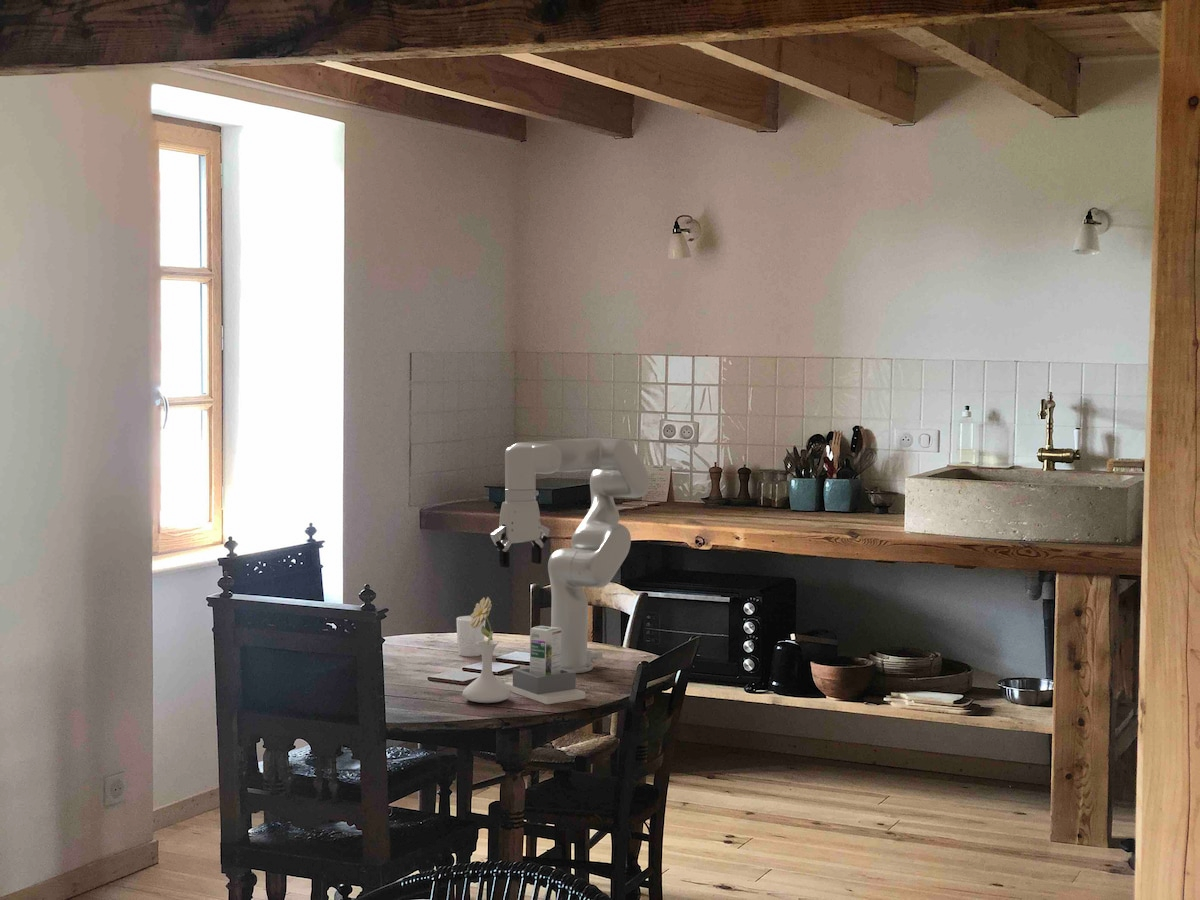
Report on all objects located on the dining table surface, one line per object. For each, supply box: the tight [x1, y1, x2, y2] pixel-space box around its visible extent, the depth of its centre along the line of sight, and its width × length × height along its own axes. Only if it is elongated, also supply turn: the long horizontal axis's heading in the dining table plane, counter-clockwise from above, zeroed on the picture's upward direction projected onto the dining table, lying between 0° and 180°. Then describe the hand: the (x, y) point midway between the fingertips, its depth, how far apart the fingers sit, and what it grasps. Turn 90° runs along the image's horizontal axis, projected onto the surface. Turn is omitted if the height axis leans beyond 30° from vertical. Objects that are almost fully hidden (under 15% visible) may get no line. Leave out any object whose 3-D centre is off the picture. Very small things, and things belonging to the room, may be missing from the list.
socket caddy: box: [503, 666, 586, 705], centre depth 330 cm, size 11×19×6 cm, turn 36°
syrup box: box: [529, 625, 561, 676], centre depth 329 cm, size 6×6×14 cm
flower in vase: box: [462, 596, 512, 704], centre depth 320 cm, size 13×11×25 cm
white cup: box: [456, 615, 486, 658], centre depth 375 cm, size 8×8×10 cm
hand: (520, 565), depth 338 cm, fingers open, 9 cm apart
